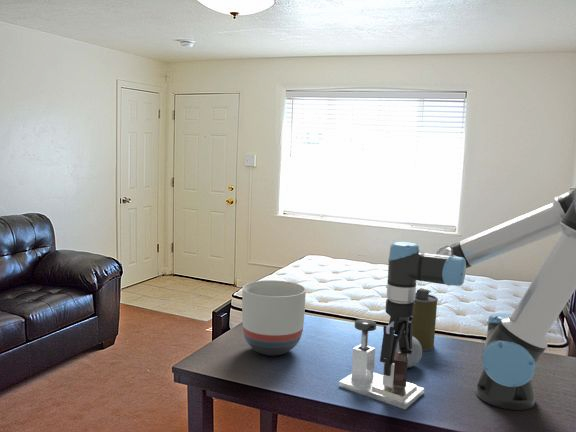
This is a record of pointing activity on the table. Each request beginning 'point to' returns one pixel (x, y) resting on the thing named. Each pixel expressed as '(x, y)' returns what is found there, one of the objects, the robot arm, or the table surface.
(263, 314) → the planter
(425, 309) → the canister
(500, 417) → the table surface
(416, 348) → the decorative stone
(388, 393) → the press
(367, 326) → the plunger
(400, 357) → the box
